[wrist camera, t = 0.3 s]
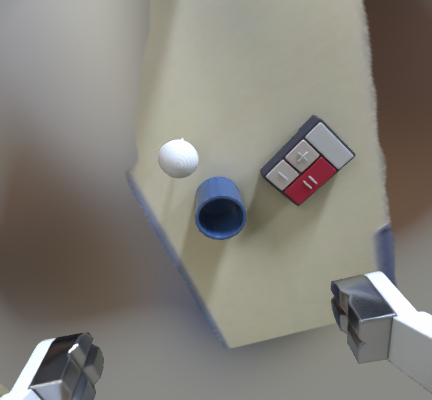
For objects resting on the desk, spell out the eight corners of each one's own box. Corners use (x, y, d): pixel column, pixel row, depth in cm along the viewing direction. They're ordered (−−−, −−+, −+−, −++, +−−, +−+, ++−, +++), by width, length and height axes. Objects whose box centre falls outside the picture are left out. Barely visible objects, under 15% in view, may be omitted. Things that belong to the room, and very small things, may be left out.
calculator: (262, 178, 54) (322, 119, 49) (258, 169, 58) (314, 113, 53) (299, 208, 58) (358, 156, 53) (293, 198, 62) (348, 149, 56)
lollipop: (201, 129, 53) (203, 152, 40) (193, 157, 55) (192, 188, 42) (170, 119, 52) (160, 140, 38) (163, 149, 54) (152, 178, 41)
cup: (190, 182, 58) (189, 202, 50) (235, 172, 57) (241, 190, 49) (201, 220, 62) (201, 244, 54) (243, 211, 62) (250, 233, 54)
